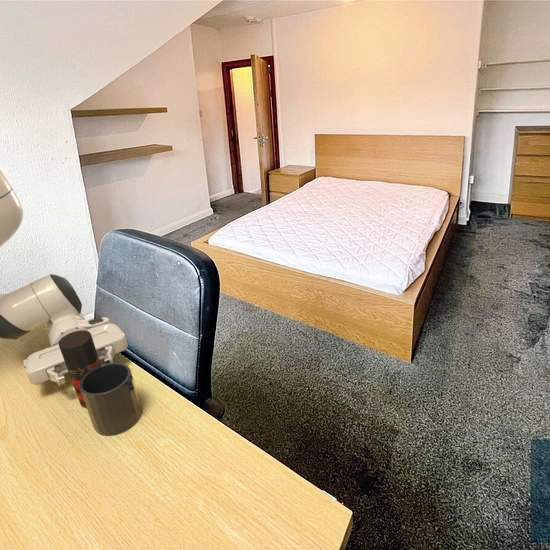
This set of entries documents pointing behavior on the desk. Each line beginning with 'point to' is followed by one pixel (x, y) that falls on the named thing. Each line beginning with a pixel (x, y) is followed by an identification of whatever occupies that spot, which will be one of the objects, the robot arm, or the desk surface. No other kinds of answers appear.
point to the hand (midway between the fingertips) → (86, 371)
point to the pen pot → (111, 398)
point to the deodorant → (79, 357)
